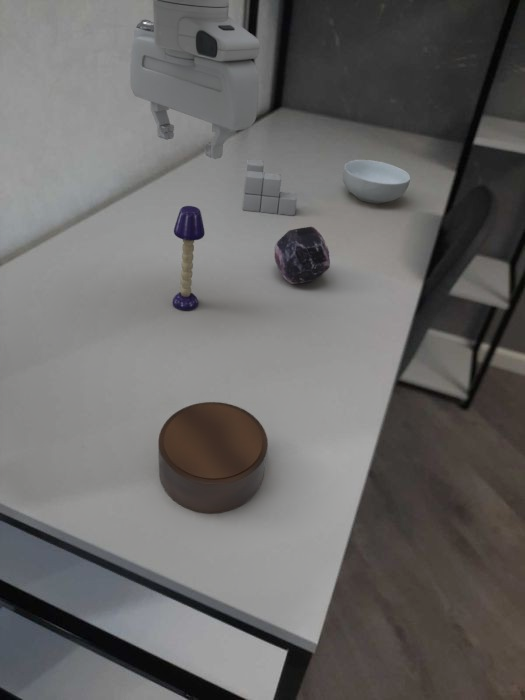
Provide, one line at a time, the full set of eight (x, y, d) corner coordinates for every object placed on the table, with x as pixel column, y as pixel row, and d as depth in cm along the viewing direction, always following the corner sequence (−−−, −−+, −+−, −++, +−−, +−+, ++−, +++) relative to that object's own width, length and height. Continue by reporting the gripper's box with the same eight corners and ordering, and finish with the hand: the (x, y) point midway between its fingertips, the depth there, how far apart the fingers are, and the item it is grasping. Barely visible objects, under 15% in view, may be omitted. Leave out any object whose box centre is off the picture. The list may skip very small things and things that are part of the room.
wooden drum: (213, 534, 54) (215, 504, 51) (137, 469, 59) (134, 438, 56) (283, 468, 61) (289, 438, 58) (210, 416, 67) (212, 386, 64)
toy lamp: (190, 293, 90) (192, 200, 79) (207, 305, 87) (211, 211, 77) (167, 302, 87) (166, 206, 76) (184, 315, 84) (186, 218, 74)
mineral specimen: (330, 288, 92) (316, 236, 87) (275, 295, 96) (259, 246, 91) (339, 263, 99) (327, 214, 94) (288, 270, 104) (274, 224, 98)
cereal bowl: (373, 215, 125) (380, 187, 121) (325, 191, 135) (330, 164, 130) (416, 204, 134) (424, 177, 130) (369, 182, 144) (375, 156, 140)
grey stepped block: (294, 215, 120) (299, 182, 115) (242, 210, 120) (245, 176, 115) (292, 196, 130) (297, 164, 125) (245, 191, 129) (247, 158, 124)
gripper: (115, 16, 66) (122, 130, 74) (234, 47, 56) (227, 173, 65) (153, 16, 70) (155, 124, 78) (271, 44, 60) (259, 164, 69)
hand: (189, 147), depth 71 cm, fingers open, 8 cm apart
